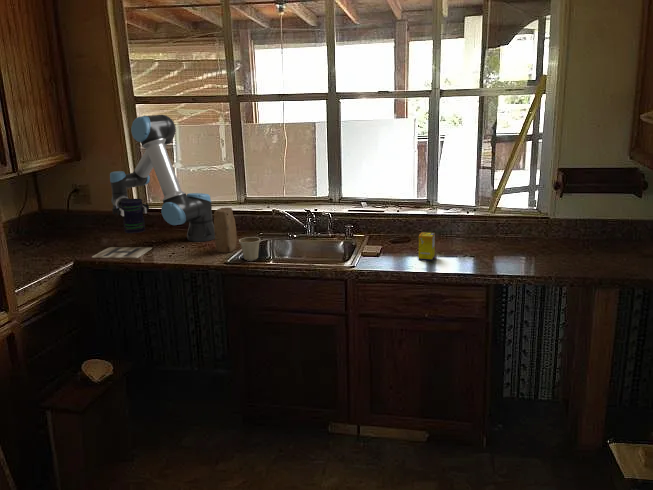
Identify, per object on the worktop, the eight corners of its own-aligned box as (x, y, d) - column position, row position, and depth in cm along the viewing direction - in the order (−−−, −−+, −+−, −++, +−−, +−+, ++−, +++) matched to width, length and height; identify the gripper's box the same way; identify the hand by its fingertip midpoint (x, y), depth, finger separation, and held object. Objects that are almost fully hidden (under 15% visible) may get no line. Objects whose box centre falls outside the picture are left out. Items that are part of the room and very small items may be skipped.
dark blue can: (149, 228, 284) (145, 198, 280) (140, 233, 275) (136, 202, 271) (129, 228, 286) (126, 198, 282) (120, 233, 276) (116, 202, 272)
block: (229, 253, 265) (225, 211, 260) (214, 252, 267) (210, 210, 262) (239, 247, 275) (236, 206, 269) (225, 246, 277) (222, 205, 272)
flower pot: (251, 262, 250) (249, 243, 248) (235, 259, 256) (234, 240, 253) (266, 257, 257) (264, 238, 255) (250, 254, 263) (249, 236, 260)
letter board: (152, 248, 278) (151, 247, 278) (137, 258, 262) (136, 256, 262) (109, 248, 281) (109, 247, 281) (91, 257, 265) (91, 256, 265)
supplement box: (421, 256, 251) (421, 232, 248) (434, 257, 249) (435, 232, 246) (418, 260, 246) (418, 235, 243) (432, 261, 244) (432, 236, 241)
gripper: (147, 209, 299) (159, 216, 280) (102, 214, 288) (110, 223, 270) (146, 194, 297) (157, 201, 278) (100, 200, 286) (108, 207, 268)
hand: (134, 212), depth 274 cm, fingers closed on dark blue can, 10 cm apart
